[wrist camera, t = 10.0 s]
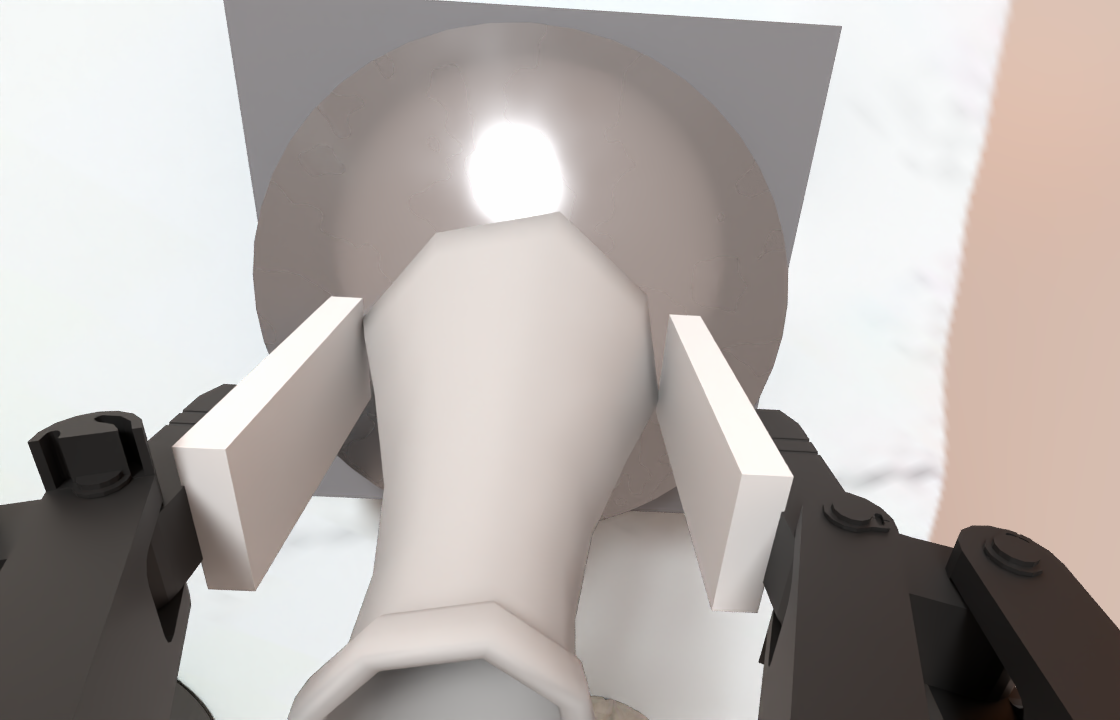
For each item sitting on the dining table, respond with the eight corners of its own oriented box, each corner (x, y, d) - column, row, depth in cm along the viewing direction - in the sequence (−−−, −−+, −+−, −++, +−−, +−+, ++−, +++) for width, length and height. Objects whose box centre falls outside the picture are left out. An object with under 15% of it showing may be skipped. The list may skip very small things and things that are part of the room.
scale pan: (728, 520, 21) (735, 539, 20) (303, 500, 21) (291, 519, 20) (832, 45, 15) (849, 42, 14) (227, 6, 15) (205, 2, 14)
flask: (576, 152, 13) (608, 311, 4) (702, 406, 16) (889, 835, 7) (313, 299, 15) (-84, 652, 6) (470, 509, 17) (370, 977, 8)
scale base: (715, 442, 27) (751, 527, 22) (345, 424, 27) (294, 505, 22) (794, 39, 20) (871, 25, 15) (299, 7, 20) (208, -17, 15)
